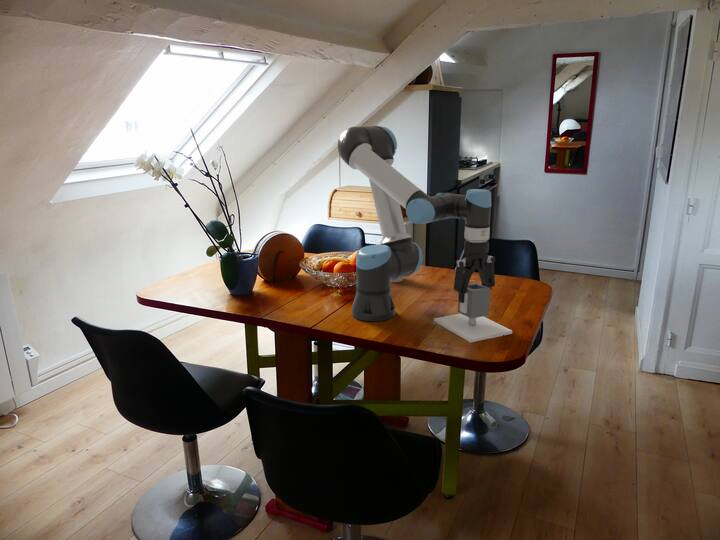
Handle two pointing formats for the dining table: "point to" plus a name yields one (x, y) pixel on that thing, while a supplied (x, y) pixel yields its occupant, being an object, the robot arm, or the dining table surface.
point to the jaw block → (477, 301)
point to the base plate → (472, 327)
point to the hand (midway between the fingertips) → (473, 310)
